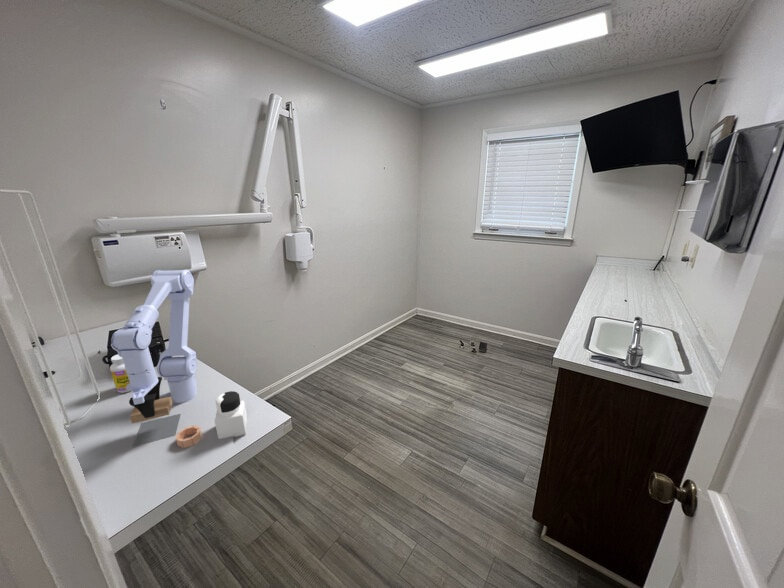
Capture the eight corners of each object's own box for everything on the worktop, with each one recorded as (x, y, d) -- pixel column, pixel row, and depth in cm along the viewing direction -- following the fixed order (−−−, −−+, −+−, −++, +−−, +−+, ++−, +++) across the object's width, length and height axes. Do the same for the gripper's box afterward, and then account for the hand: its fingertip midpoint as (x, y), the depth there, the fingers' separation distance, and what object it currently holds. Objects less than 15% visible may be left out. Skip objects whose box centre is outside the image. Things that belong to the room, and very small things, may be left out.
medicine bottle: (247, 418, 96) (241, 386, 92) (246, 435, 90) (240, 400, 86) (221, 424, 94) (214, 391, 90) (218, 441, 87) (211, 406, 84)
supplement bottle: (116, 396, 106) (106, 363, 102) (117, 386, 111) (107, 355, 107) (141, 388, 110) (132, 357, 106) (140, 380, 115) (131, 349, 111)
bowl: (180, 437, 89) (178, 429, 88) (202, 431, 91) (200, 423, 90) (177, 452, 84) (174, 443, 83) (200, 445, 86) (198, 436, 85)
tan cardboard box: (137, 411, 90) (135, 404, 89) (172, 403, 93) (170, 396, 92) (132, 423, 85) (129, 416, 84) (169, 414, 88) (167, 407, 87)
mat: (142, 425, 93) (141, 423, 93) (181, 415, 97) (180, 413, 97) (132, 449, 85) (131, 446, 84) (175, 437, 89) (175, 435, 88)
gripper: (129, 359, 89) (142, 398, 93) (112, 387, 76) (127, 431, 81) (159, 354, 91) (169, 392, 96) (147, 380, 79) (159, 422, 84)
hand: (152, 409), depth 89 cm, fingers closed on tan cardboard box, 6 cm apart
